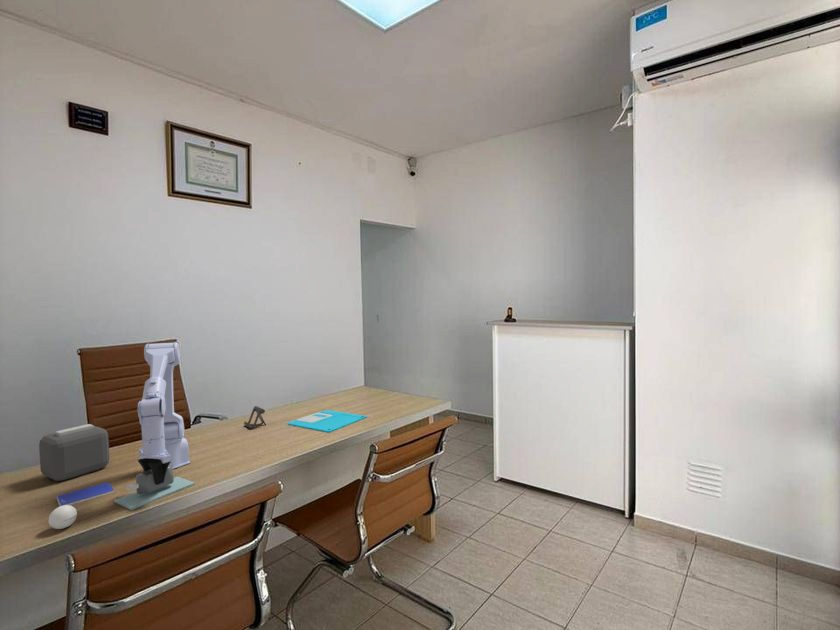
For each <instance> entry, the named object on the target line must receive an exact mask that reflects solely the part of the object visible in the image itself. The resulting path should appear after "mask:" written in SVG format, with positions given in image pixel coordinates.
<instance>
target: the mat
mask: <svg viewBox="0 0 840 630" xmlns="http://www.w3.org/2000/svg"><path fill="white" fill-rule="evenodd" d="M173 478H174V482H173V483H171V484H169V485H166V486H164V487H161V488H158V489H156V490H153V491H151V492H148V493H144V494H137V491H135V492H132V493H129V494H126V495H124V496H121V497H119V498H115V499H114V500H113V501H114V503H116V504H117V505H120V506H122V507H124V508H126V509H128V510H130V511H133V510H135V509H138V508H140V507H142V506H145V505H147V504H150V503H152V502H155V501H158V500H160V499H163V498H166V497H168V496H170V495H173V494H176V493H178V492H181V491H183V490H185V489H188V488H190V487H193V486H195V484H196V482H194V481H192V480H189V479H185V478H183V477H180V476H175V477H173Z"/></svg>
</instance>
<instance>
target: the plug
mask: <svg viewBox="0 0 840 630" xmlns="http://www.w3.org/2000/svg"><path fill="white" fill-rule="evenodd" d="M174 478H175V477H174V469H173V465H171V464H169V466H168V468H167V471H166V475H165V479H164V483H161V484H158V485H156V484H155V481H154V476H153V472H152V470H148V471H145V472H144V471H143V472H140V473H139V472H138V474H136V475H135V480H136V481H135V482H134V483H131V484H127V485H125V488H126V489H125V490H126V491H129V492H131V491H134V490H136V492H137V494H144V493H148V492H151V491H153V490H156V489H158V488H161V487H164V486H166V485H169V484H171V483H173V482H174Z"/></svg>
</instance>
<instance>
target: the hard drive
mask: <svg viewBox="0 0 840 630" xmlns="http://www.w3.org/2000/svg"><path fill="white" fill-rule="evenodd" d="M112 493H115V491H114V488H113V487H112V485H111V484H110V483H109V482H108V481H107V482H104V483H100V484H96V485H93V486H89V487H86V488H82V489H78V490H74V491H71V492H66V493H63V494H60V495H56V500H57V503H58V505H59V506H58V507H60V506H63V505H70V506H73V505H75V504H78V503H82V502H85V501H88V500H91V499H95V498H99V497H102V496H106V495H109V494H112Z"/></svg>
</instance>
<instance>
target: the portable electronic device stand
mask: <svg viewBox="0 0 840 630" xmlns="http://www.w3.org/2000/svg"><path fill="white" fill-rule="evenodd" d="M255 413H256V417H255V420H254V422H253V424H251V422H252V419H253V416H254V414H255ZM265 413H266V411H265V409H264V408H261V407H260V406H257V405H255V406H254V407H253V409H252V410H251V414H250V416H249V419H248V421H243V425H244V426H245V427H246V428H248V429H250V430H254V429H255V428H256V427H257V426H256V425H257V422H258V419H259V421H260V422H261V424H262V423H264V425H265V426H267V424H266V422H265V420H264V418H263V416H262V415H264V414H265Z"/></svg>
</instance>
